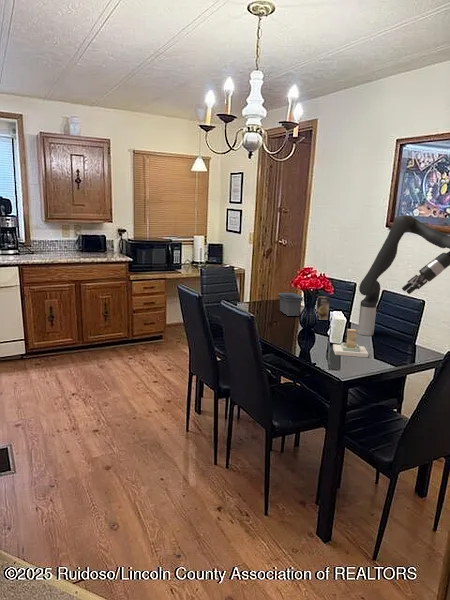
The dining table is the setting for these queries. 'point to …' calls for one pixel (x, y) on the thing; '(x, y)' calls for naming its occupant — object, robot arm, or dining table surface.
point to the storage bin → (290, 303)
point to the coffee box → (322, 307)
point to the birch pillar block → (351, 338)
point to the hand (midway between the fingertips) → (405, 291)
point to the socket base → (350, 350)
